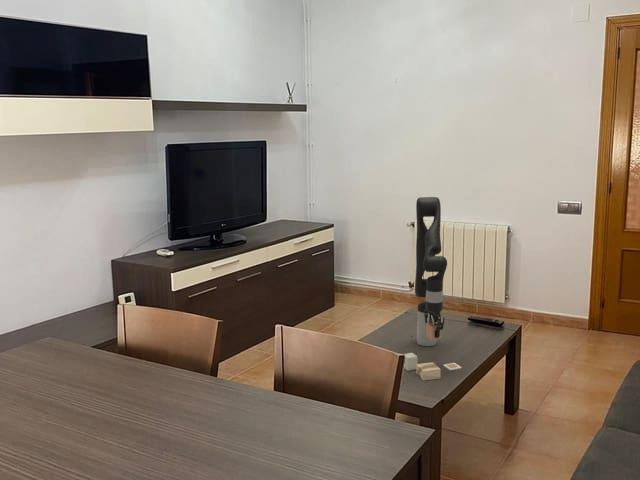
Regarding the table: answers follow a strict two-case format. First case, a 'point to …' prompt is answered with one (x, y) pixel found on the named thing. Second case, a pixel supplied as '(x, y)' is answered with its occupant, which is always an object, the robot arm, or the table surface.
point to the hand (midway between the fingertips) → (433, 335)
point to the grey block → (410, 361)
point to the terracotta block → (431, 331)
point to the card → (452, 366)
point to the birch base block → (428, 371)
